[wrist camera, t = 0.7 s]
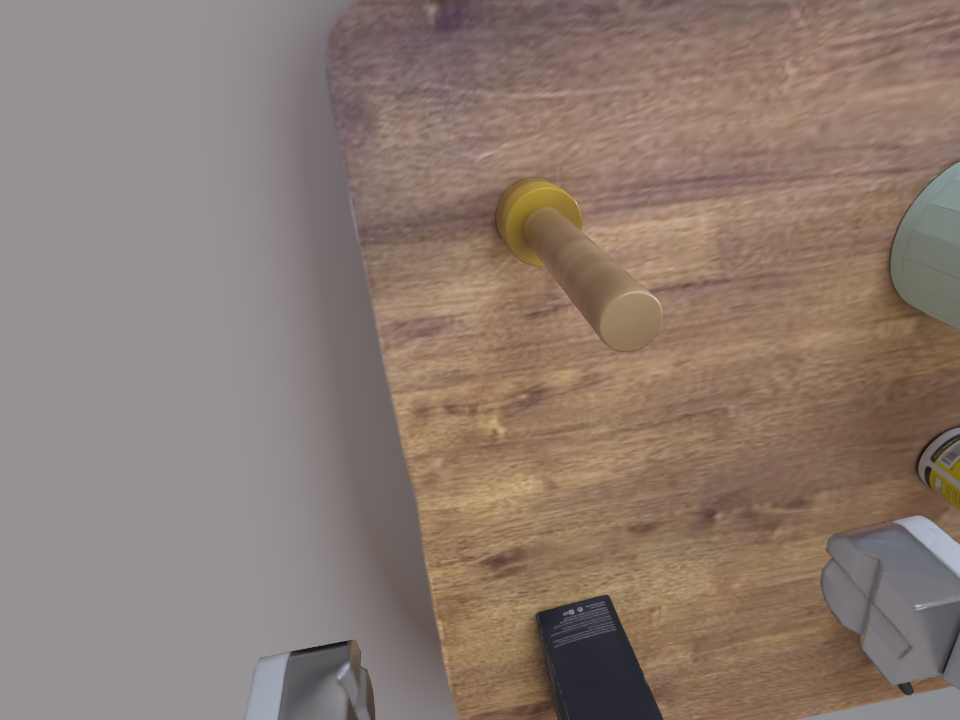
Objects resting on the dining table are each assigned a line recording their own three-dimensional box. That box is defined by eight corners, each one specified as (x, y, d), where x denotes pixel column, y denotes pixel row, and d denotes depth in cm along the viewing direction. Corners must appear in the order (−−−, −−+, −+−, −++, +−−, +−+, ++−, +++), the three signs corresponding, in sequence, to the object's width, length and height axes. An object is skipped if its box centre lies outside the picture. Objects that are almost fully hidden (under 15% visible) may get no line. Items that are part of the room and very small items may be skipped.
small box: (620, 683, 58) (674, 823, 47) (552, 700, 57) (590, 845, 47) (611, 591, 51) (670, 730, 41) (534, 611, 51) (574, 755, 41)
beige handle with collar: (485, 192, 34) (558, 290, 20) (557, 165, 34) (680, 245, 20) (508, 261, 36) (587, 393, 22) (575, 236, 36) (699, 352, 22)
